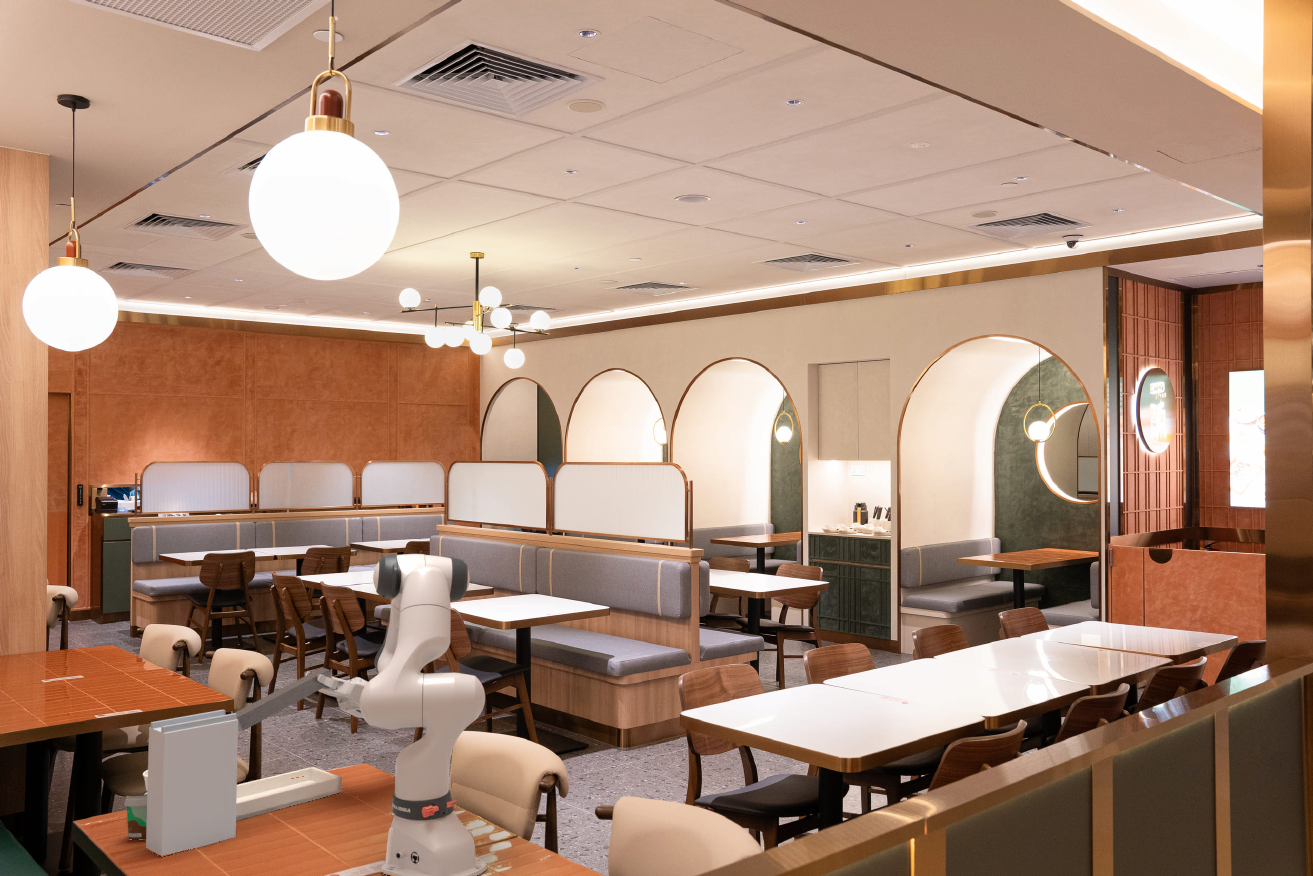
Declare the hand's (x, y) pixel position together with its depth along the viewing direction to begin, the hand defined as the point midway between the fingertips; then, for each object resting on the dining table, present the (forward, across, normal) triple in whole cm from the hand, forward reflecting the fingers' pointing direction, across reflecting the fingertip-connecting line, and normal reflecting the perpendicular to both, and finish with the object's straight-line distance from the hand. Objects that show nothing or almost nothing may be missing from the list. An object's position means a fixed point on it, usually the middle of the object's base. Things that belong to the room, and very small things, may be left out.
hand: (312, 676), depth 237 cm
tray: (-13, -13, +30) cm, 35 cm away
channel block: (+9, 0, +42) cm, 43 cm away
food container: (+11, -11, +44) cm, 47 cm away
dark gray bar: (+3, 0, +8) cm, 9 cm away
